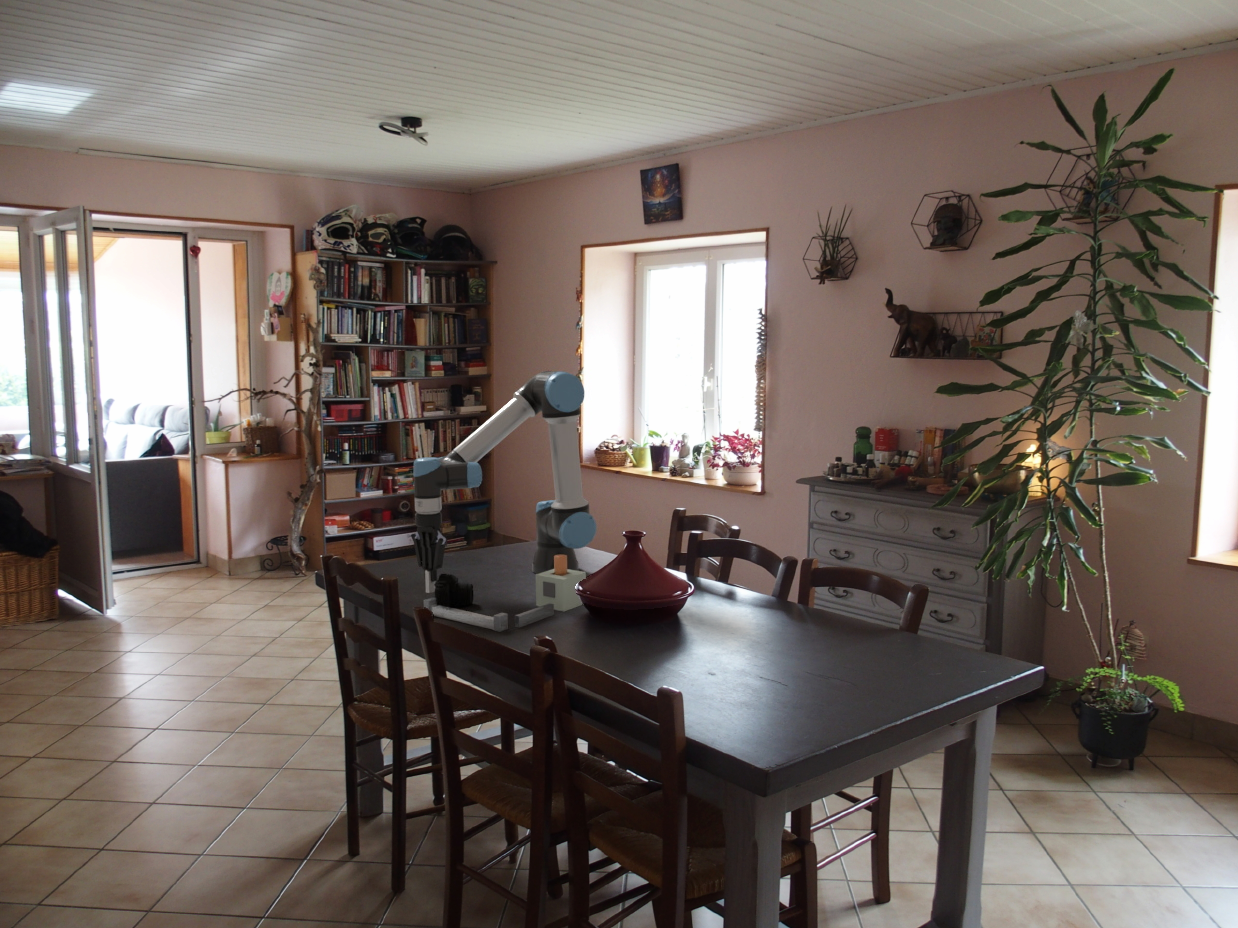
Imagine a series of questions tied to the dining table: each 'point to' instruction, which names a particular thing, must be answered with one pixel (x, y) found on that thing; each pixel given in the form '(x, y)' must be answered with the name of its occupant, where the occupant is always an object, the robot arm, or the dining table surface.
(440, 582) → the film camera
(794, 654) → the dining table surface
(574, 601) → the cabinet
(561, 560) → the gauge button
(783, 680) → the dining table surface
